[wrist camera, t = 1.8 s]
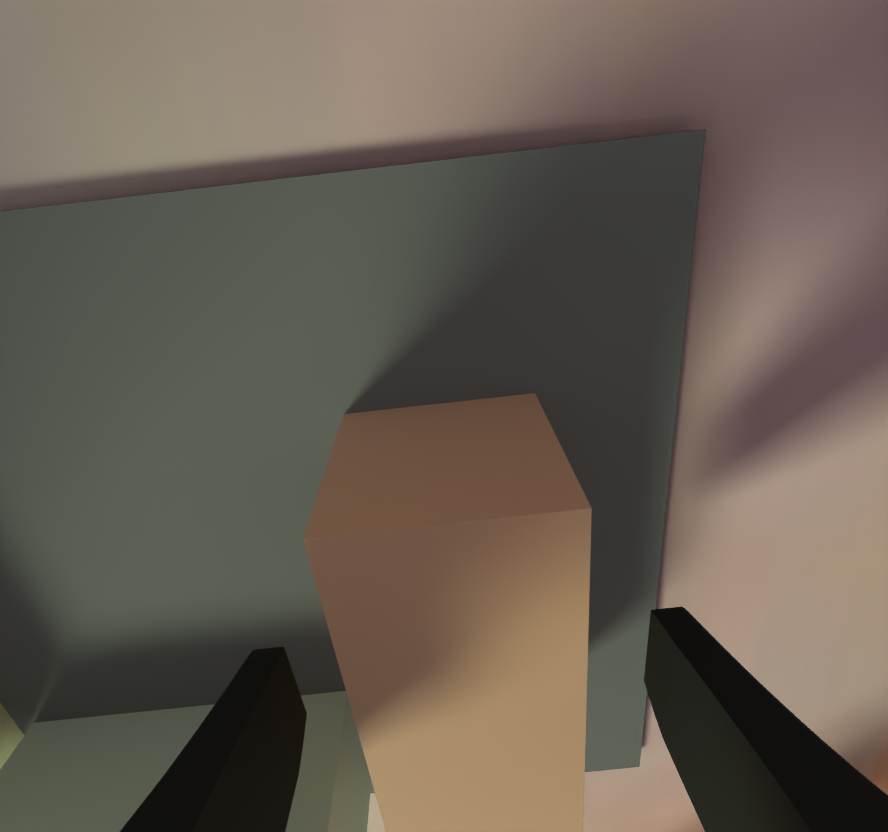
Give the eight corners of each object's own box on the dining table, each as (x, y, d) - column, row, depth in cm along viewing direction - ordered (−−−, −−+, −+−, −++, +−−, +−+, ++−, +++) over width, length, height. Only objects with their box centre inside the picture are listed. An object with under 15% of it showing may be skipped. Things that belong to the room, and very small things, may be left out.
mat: (-140, 830, 17) (-152, 845, 17) (-732, 296, 9) (-778, 302, 9) (634, 753, 17) (639, 766, 16) (694, 130, 9) (705, 129, 9)
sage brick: (90, 802, 16) (-5, 982, 13) (33, 722, 15) (-95, 905, 11) (371, 774, 16) (356, 948, 13) (348, 690, 14) (323, 864, 11)
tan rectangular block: (403, 696, 15) (396, 869, 11) (343, 414, 11) (302, 538, 7) (543, 682, 15) (582, 851, 11) (535, 392, 11) (591, 508, 7)
